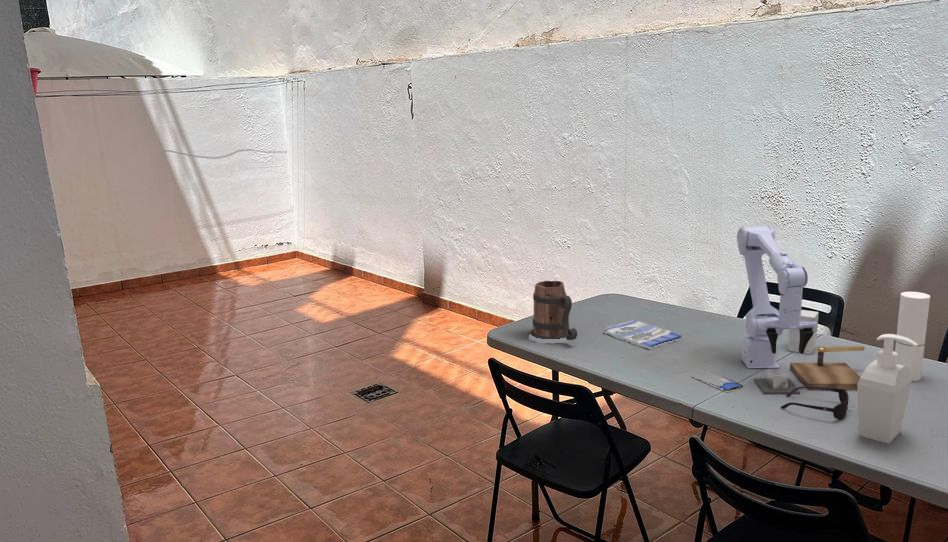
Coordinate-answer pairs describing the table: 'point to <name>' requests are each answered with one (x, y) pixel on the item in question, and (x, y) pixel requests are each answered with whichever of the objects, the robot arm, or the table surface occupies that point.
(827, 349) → the lever
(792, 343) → the supplement box
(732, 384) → the smartphone
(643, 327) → the dish towel
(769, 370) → the grey block
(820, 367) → the wooden base
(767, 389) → the rubber mat
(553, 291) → the tankard
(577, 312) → the table surface
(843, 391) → the sunglasses
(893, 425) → the soap bottle
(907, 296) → the cylindrical container
